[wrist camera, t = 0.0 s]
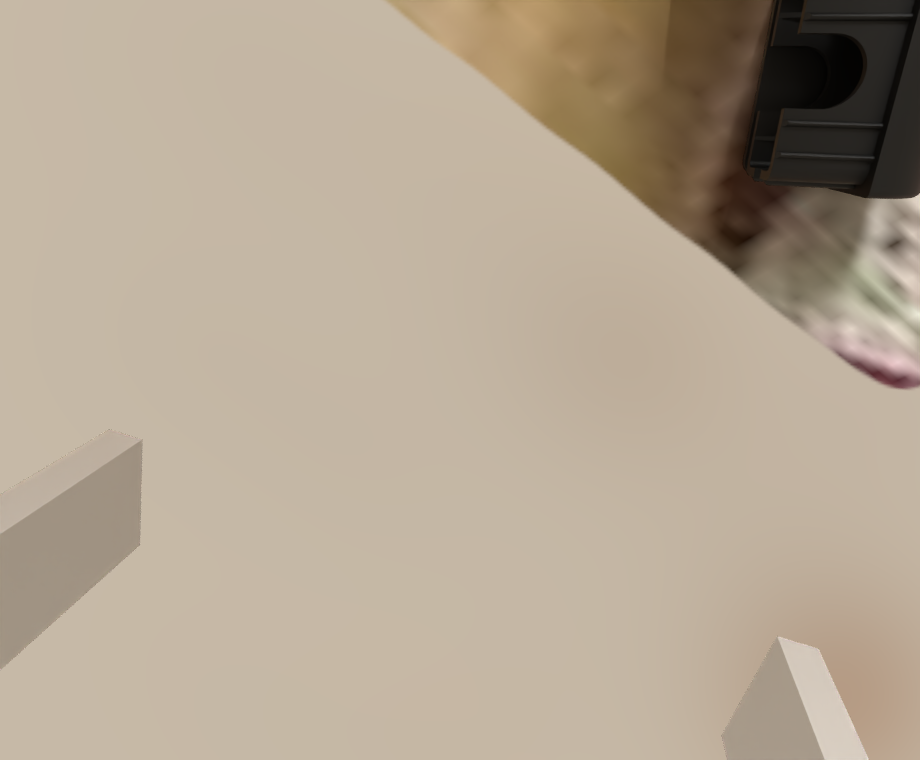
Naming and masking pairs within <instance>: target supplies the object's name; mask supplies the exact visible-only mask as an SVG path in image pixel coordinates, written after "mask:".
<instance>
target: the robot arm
mask: <svg viewBox="0 0 920 760" xmlns="http://www.w3.org/2000/svg"><path fill="white" fill-rule="evenodd" d="M141 474H142V439H139V438H136V437H132V436H129V435H126V434H123V433H119V432H116V431H113V430H110V429H109V430H107V431H105V432H104V433H102V434H100V435H99V436H97V437H95V438H94V439H92V440H90V441H89V442H87V443H85V444H84V445H82V446H80V447H79V448H77V449H75V450H74V451H72V452H70V453H69V454H67V455H65V456H64V457H62V458H60V459H59V460H57V461H55V462H53V463H52V464H50V465H49V466H47V467H45V468H43V469H42V470H40V471H38V472H37V473H35V474H33V475H32V476H30V477H28V478H27V479H25V480H24V481H22V482H20V483H18V484H17V485H15V486H13V487H12V488H10V489H8V490H7V491H5V492H3V493H1V494H0V670H1V669H2V668H3V667H4V666H5V665H6V664H8V663H9V662H10V661H11V660H12V659H13V658H14V657H15V656H16V655H18V653H20V652H21V651H22V650H23V649H24V648H25V647H26V646H27V645H29V644H30V643H31V642H32V641H33V640H34V639H35V638H37V636H39V635H40V634H41V633H42V632H43V631H44V630H45V629H47V628H48V627H49V626H50V625H51V624H52V623H53V622H54V621H56V620H57V619H58V618H59V617H60V616H61V615H62V614H63V613H64V612H65V611H67V610H68V609H69V608H70V607H71V606H72V605H73V604H74V603H76V601H78V600H79V599H80V598H81V597H82V596H83V595H84V594H86V593H87V592H88V591H89V590H90V589H91V588H92V587H93V586H95V585H96V584H97V583H98V582H99V581H100V580H101V579H102V578H103V577H105V576H106V575H107V574H108V573H109V572H110V571H111V570H112V569H114V568H115V567H116V566H117V565H118V564H119V563H120V562H121V561H122V560H124V559H125V558H126V557H127V556H128V555H129V554H130V553H131V552H132V551H134V550H135V549H136V548H137V547H138V546H139V545H140V518H141V517H140V516H141ZM722 739H723V744H724V748H725V752H726V757H727V760H869V759H868V756H867V755H866V752H865V750H864V748H863V746H862V743H861V741H860V739H859V737H858V735H857V732H856V730H855V728H854V726H853V724H852V722H851V719H850V717H849V715H848V713H847V711H846V708H845V706H844V704H843V702H842V699H841V697H840V695H839V693H838V691H837V688H836V687H835V684H834V682H833V680H832V677H831V675H830V673H829V671H828V669H827V667H826V664H825V662H824V660H823V658H822V656H821V653H820V651H819V649H818V648H814V647H811V646H808V645H805V644H802V643H798V642H795V641H792V640H789V639H785V638H782V637H779V636H777V637H776V639H775V641H774V643H773V644H772V646H771V648H770V650H769V652H768V653H767V655H766V657H765V659H764V661H763V662H762V664H761V666H760V668H759V669H758V671H757V673H756V675H755V676H754V679H753V680H752V682H751V684H750V686H749V687H748V689H747V691H746V693H745V694H744V696H743V698H742V700H741V702H740V703H739V705H738V707H737V709H736V710H735V712H734V714H733V716H732V718H731V719H730V721H729V723H728V725H727V726H726V728H725V730H724V732H723V734H722Z"/></svg>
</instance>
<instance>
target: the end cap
mask: <svg viewBox="0 0 920 760" xmlns="http://www.w3.org/2000/svg"><path fill="white" fill-rule="evenodd" d="M743 168H744V169H745V170H746V172H747V174H748V175H749V176H751V177H752V178H753V179H754V181H761V182H764V183H765V184H766V185H778V186H799V187H820V188H828V189H832V190H836V191H840V192H844V193H848V194H852V195H856V196H860V197H864V198H880V199H903V198H913V197H915V196H917V195H918V194H919V193H920V0H774V3H773V8H772V13H771V18H770V24H769V29H768V34H767V39H766V44H765V49H764V55H763V60H762V65H761V70H760V75H759V80H758V86H757V91H756V96H755V101H754V106H753V112H752V117H751V122H750V127H749V132H748V137H747V143H746V148H745V153H744V158H743Z"/></svg>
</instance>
